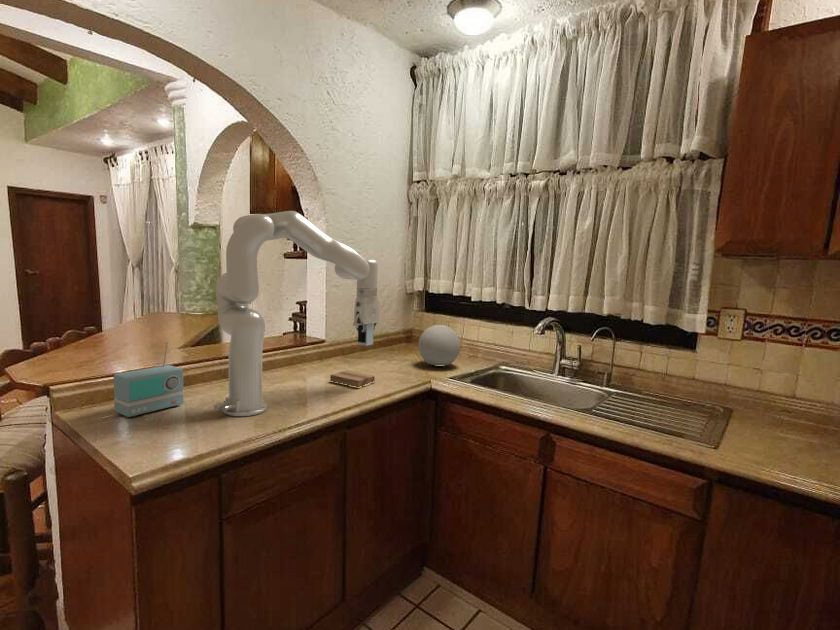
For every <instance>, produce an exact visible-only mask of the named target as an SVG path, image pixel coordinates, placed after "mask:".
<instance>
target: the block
mask: <svg viewBox="0 0 840 630" xmlns="http://www.w3.org/2000/svg"><path fill="white" fill-rule="evenodd" d="M361 327H362V325H361ZM373 328H374V323H372V324H366V326H365V332H366V342H365V343H361V342H358V341H357V345H360V346H366V347H368V346H373V345H374V336H373Z"/></svg>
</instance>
